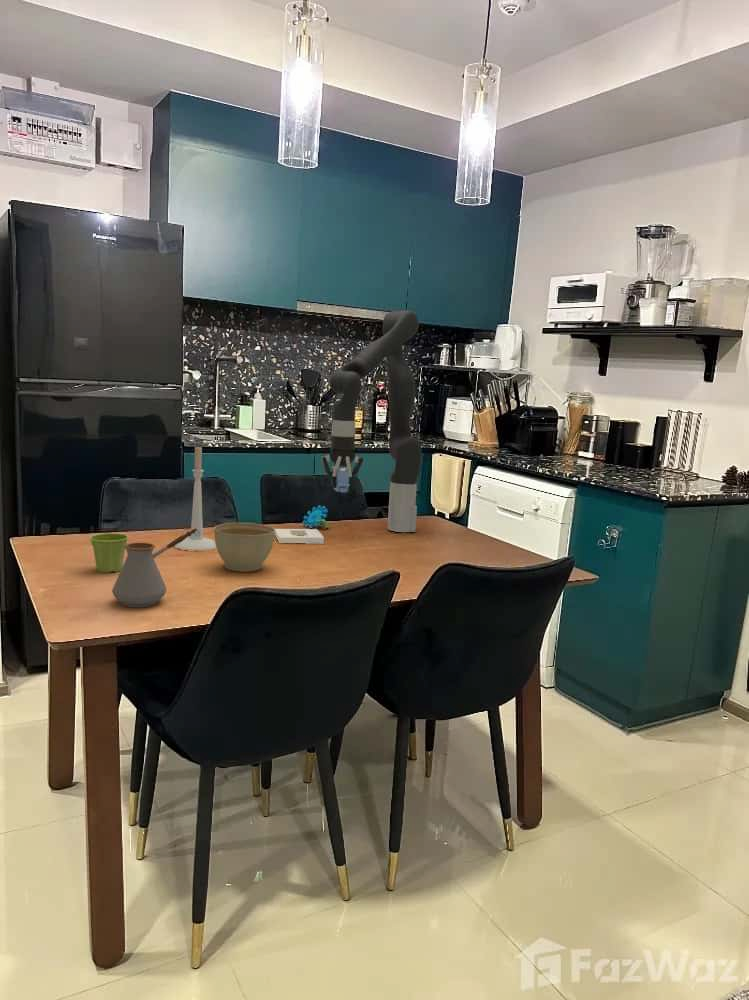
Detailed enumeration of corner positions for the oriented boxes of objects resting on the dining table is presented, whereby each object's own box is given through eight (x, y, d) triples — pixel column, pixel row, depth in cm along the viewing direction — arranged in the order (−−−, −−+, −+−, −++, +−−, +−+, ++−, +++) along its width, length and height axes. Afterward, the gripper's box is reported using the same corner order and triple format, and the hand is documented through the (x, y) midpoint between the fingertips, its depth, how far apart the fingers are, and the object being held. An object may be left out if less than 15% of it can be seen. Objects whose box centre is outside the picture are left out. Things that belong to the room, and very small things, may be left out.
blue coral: (297, 520, 258) (316, 500, 260) (306, 531, 262) (325, 511, 264) (311, 531, 249) (332, 510, 251) (321, 541, 253) (341, 521, 255)
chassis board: (316, 535, 244) (316, 529, 244) (323, 543, 232) (323, 537, 231) (274, 534, 240) (274, 528, 240) (279, 543, 228) (279, 537, 228)
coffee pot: (130, 613, 155) (131, 544, 153) (101, 601, 162) (101, 534, 160) (212, 595, 172) (213, 532, 169) (182, 584, 179) (183, 524, 176)
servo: (343, 488, 242) (344, 466, 241) (349, 492, 233) (350, 469, 232) (332, 488, 241) (333, 466, 240) (338, 492, 232) (339, 469, 231)
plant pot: (82, 572, 184) (82, 539, 182) (101, 564, 193) (101, 531, 191) (117, 576, 182) (117, 542, 181) (134, 567, 192) (135, 534, 190)
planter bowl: (248, 579, 186) (249, 537, 185) (200, 568, 194) (200, 528, 192) (285, 567, 200) (287, 528, 199) (239, 557, 208) (240, 520, 206)
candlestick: (217, 542, 226) (219, 444, 221) (219, 551, 214) (222, 448, 209) (174, 542, 222) (175, 443, 218) (174, 552, 210) (175, 447, 205)
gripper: (362, 434, 240) (359, 486, 242) (319, 433, 236) (317, 486, 239) (367, 436, 233) (364, 490, 235) (323, 435, 229) (321, 489, 232)
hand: (340, 487), depth 237 cm, fingers closed on servo, 3 cm apart
